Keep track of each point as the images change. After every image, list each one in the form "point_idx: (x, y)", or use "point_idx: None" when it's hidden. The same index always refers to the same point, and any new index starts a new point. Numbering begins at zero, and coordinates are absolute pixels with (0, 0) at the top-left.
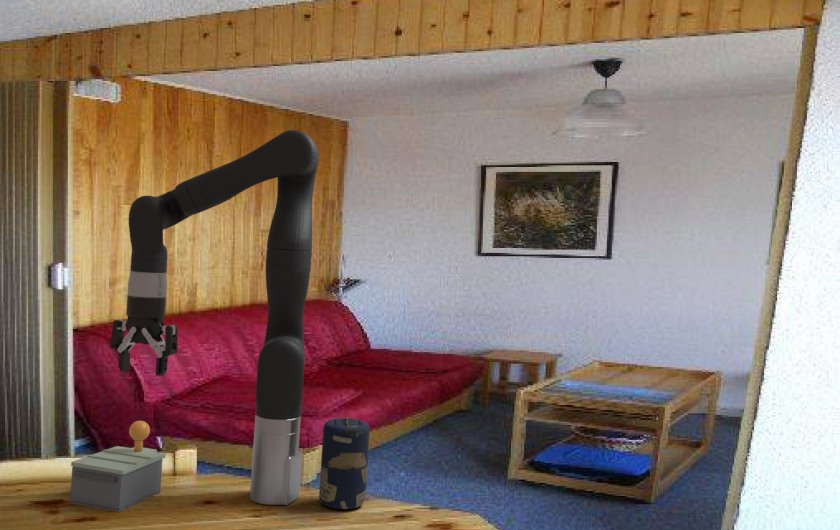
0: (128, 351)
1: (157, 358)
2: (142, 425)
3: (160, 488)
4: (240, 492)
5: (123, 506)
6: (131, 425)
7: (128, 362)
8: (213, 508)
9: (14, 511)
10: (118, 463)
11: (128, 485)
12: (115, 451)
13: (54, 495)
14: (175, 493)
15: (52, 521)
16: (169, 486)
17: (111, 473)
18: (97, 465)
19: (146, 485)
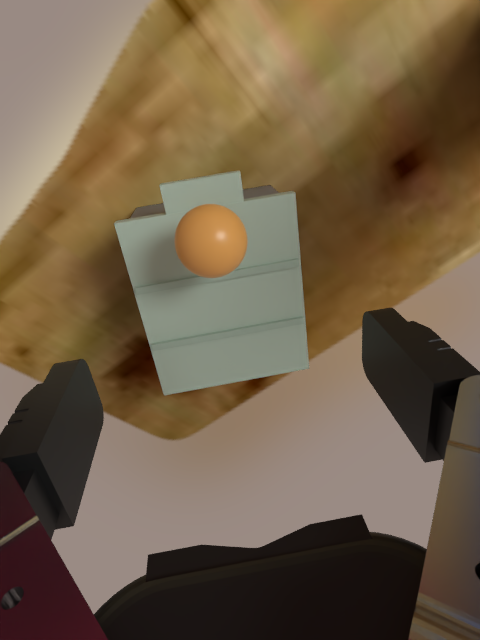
0: (30, 481)
1: (430, 455)
2: (236, 259)
3: (271, 186)
4: (442, 44)
5: None
6: (194, 271)
7: (70, 404)
8: (433, 195)
9: (136, 417)
10: (259, 340)
11: None
12: (175, 282)
13: (106, 333)
14: (302, 164)
15: (226, 409)
16: (253, 127)
17: None
18: (233, 378)
19: None
